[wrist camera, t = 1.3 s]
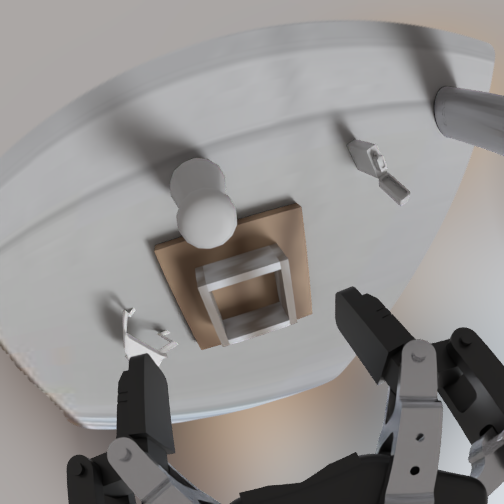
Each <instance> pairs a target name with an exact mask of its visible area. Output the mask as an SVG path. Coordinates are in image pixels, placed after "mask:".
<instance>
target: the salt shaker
mask: <svg viewBox="0 0 504 504" xmlns="http://www.w3.org/2000/svg"><path fill="white" fill-rule="evenodd" d="M170 191H171V197H172V198H173V200H174V201H175V203H176V205H177V206H178V208H179V209H178V212H177V224H178V230H179V232H180V233H181V235H182V236H183V237H184V239H185V240H186V241H187V243H189V244H191V245H193V246H195V247H197V248H205V249H212V248H214V247H217V246H220V245H223V244H224V243H225V242H226V241H227V240H228V239H229V238H230V237H231V236H232V235H233V233H234V231H235V228H236V226H237V215H236V208H235V206H234V204H233V203H232V201H231V199H230V198H229V196H228V195H226V183H225V176H224V174H223V172H222V170H221V169H220V167H219V166H218V165H217V164H215V163H213V162H212V161H210V160H208V159H201V158H193V159H191V160H188V161H186V162H183V163H182V164H181V165H180V166H179V167H178V168H177V169H176V170H175V171H174V172H173V175H172V178H171V181H170Z"/></svg>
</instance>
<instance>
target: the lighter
mask: <svg viewBox="0 0 504 504" xmlns="http://www.w3.org/2000/svg"><path fill="white" fill-rule="evenodd" d="M347 147H348V149H349V151H350V153H351V155H352V158H353V160H354V162H355V164H356V166H357V168H358V170H360V171H362V172H364V173H367V174H369V175H372V176H374V177H376V178H379V187H380V188H382V189H383V190H384V191H385V192H386V193H387V194H388V195H389V196H390V197H391V198H392V199H393V200H394V201H396V202H397V203H398V204H399V205H400V206H402V205H404V204H405V203H406V202H407V201H408V200H409V198H410V191H409V190H408V189H406V188H405V187H404V186H403V185H402V184H401V183H400V182H399V181H397V180H396V179H395V178H394V177H393V176H392V175H390V174H389V173H387V170H386V169H387V168H388V167H387V164H386V162H385V159H384V156H382V155H381V154H380V151H379V149H378V147H377V145H376V144H372V143H368V142H364V141H360V140H356V139H355V140H353V141H352V142H350V143H349V144H347Z"/></svg>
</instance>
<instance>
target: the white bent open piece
mask: <svg viewBox="0 0 504 504" xmlns="http://www.w3.org/2000/svg"><path fill="white" fill-rule="evenodd" d="M134 311H135V309H134V308H133V309H132V310H131V312H130V313H128V312H127V311H126V310H125V311H123V321H122V322H123V342H124V348H125V351H126V356H125V357H126V358H127V359H128V360H129V359H130V357H132V356H137V355H141V354H145V353H148V354H149V355H150V356H151V358H152V359H153V360H154V362H155V363H156V365H157V366H158V367H159V365H160V363H161V361H162V359H163V358H167V355H166V353H167V352H168V351H170V350H171V349H173V348H174V347H175V346H177V345H178V343H176V342H174V341H172V340H170V339H168V338H167V337H165V336H163V335H166V334H169V333H170V332H169V331H167V330H166V331H163V332H160V333H158V335H159V336H161V337H162V338H164V339H166V340H167V341H169V342H170V343H169V344H167V345H166V346H164V347H163V348H161V349H159V350H156V349H154V348H152V347H150V346H149V345H147V344H145V343H143V342H142V341H140V340H138V339H137V338H135V337H133V336H131V335H130V334H128V333H127V317H128V316H129V317H131V315H132V314H133V313H134Z"/></svg>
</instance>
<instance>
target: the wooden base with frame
mask: <svg viewBox="0 0 504 504" xmlns="http://www.w3.org/2000/svg"><path fill="white" fill-rule="evenodd" d="M154 252H155V254H156V256H157V259H158V261H159V263H160V266H161V268H162V270H163V272H164V275H165V277H166V279H167V281H168V284H169V286H170V288H171V290H172V292H173V294H174V296H175V299H176V301H177V303H178V305H179V307H180V309H181V311H182V313H183V315H184V317H185V319H186V321H187V323H188V325H189V327H190V329H191V331H192V333H193V335H194V337H195V339H196V341H197V342H198V344H199V346H200V348H201V350H203V349H207V348H210V347H214V346H217V345H221V344H222V346H223V347H225V346H228V345H231V344H235V343H238V342H241V341H244V340H247V339H251V338H254V337H257V336H260V335H263V334H266V333H269V332H272V331H275V330H278V329H281V328H283V327H286V326H289V325H292V324H295V323H297V319H300V318H302V317H305V316H308V315H310V314H312V303H311V291H310V279H309V269H308V259H307V249H306V240H305V232H304V223H303V215H302V207H301V206H300V205H298V204H297V203H295V204H291V205H287V206H284V207H280V208H276V209H273V210H269V211H266V212H262V213H259V214H255V215H252V216H248V217H245V218H241V219H238V220H237V226H236V228H235V231H234V233H233V235H232V236H231V237H230V238H229V239H228V240H227V241H226V242H225V243H224V244H223V245H220V246H217V247H214V248H212V249H205V248H197V247H195V246H193V245H191V244H189V243H187V241H186V240H185V239H184V237H183V236H182V237H179V238H176V239H173V240H170V241H167V242H164V243H160V244H157V245H155V250H154Z"/></svg>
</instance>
